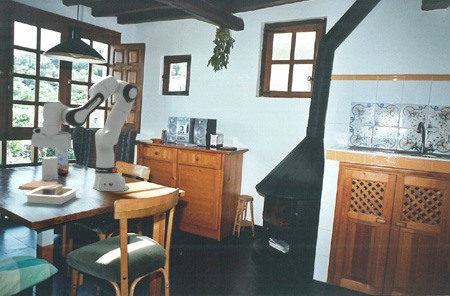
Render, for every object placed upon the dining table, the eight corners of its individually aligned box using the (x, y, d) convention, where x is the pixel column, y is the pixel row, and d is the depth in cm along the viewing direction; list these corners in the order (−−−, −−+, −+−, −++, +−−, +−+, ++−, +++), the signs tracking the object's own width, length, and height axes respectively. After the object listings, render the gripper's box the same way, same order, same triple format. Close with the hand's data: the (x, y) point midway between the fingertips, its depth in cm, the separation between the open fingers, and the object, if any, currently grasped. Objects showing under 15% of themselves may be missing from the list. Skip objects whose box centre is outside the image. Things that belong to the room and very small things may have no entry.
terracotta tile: (58, 184, 209) (58, 182, 209) (45, 190, 193) (45, 187, 193) (33, 183, 208) (33, 180, 208) (18, 188, 192) (18, 186, 192)
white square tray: (80, 195, 187) (80, 187, 187) (63, 205, 166) (63, 197, 166) (43, 193, 187) (43, 185, 186) (21, 203, 165) (21, 194, 165)
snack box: (53, 168, 260) (54, 137, 257) (65, 168, 264) (66, 137, 262) (56, 173, 241) (56, 140, 239) (68, 173, 246) (69, 140, 244)
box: (62, 196, 182) (62, 184, 182) (51, 202, 170) (51, 189, 170) (53, 196, 182) (53, 184, 182) (42, 201, 170) (42, 188, 170)
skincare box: (53, 177, 228) (54, 156, 226) (57, 179, 223) (58, 157, 222) (41, 179, 221) (41, 156, 220) (45, 180, 217) (45, 158, 215)
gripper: (73, 131, 175) (73, 156, 176) (36, 129, 175) (36, 153, 176) (68, 132, 169) (67, 157, 170) (29, 129, 169) (29, 155, 170)
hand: (51, 155), depth 173 cm, fingers open, 8 cm apart
